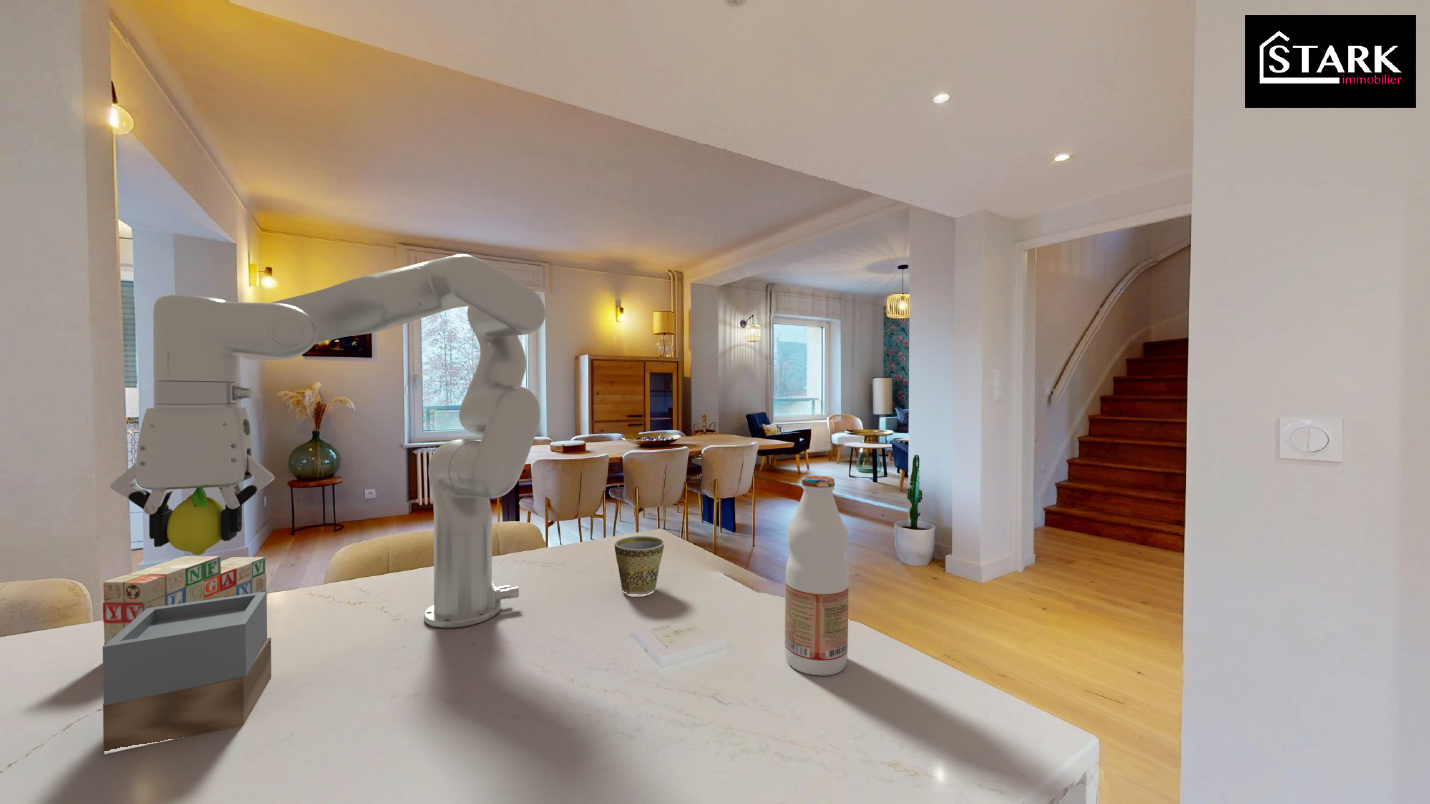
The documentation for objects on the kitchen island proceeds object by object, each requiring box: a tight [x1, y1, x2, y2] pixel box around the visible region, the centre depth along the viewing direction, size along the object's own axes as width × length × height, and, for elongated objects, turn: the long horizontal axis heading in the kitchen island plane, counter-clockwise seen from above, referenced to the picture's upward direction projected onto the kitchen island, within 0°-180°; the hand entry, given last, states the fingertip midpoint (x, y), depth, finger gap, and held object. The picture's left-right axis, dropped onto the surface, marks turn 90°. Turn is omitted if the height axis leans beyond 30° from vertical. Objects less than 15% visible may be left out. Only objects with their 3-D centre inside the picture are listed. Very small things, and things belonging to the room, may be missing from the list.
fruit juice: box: [784, 474, 850, 677], centre depth 81 cm, size 9×9×28 cm
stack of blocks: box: [102, 555, 267, 646], centre depth 90 cm, size 21×6×12 cm, turn 179°
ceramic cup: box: [614, 535, 665, 595], centre depth 111 cm, size 13×10×10 cm
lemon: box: [167, 486, 225, 556], centre depth 67 cm, size 7×6×10 cm
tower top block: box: [102, 590, 268, 706], centre depth 67 cm, size 12×12×6 cm
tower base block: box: [102, 636, 272, 752], centre depth 67 cm, size 12×12×6 cm
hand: (197, 539), depth 67 cm, fingers closed on lemon, 5 cm apart
